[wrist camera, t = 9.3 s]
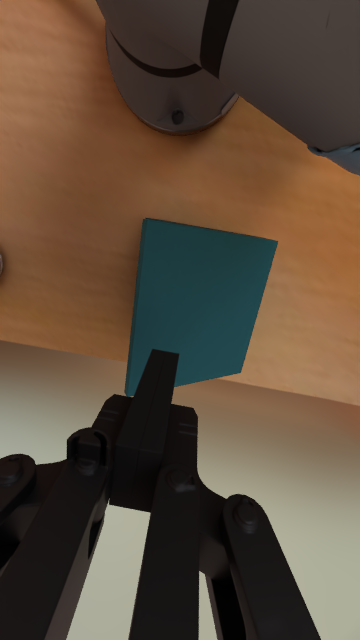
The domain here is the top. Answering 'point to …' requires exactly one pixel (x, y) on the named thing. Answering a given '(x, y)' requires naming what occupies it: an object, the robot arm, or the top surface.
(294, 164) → the top surface
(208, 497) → the robot arm
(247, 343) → the teal box lid
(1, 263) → the flower vase
